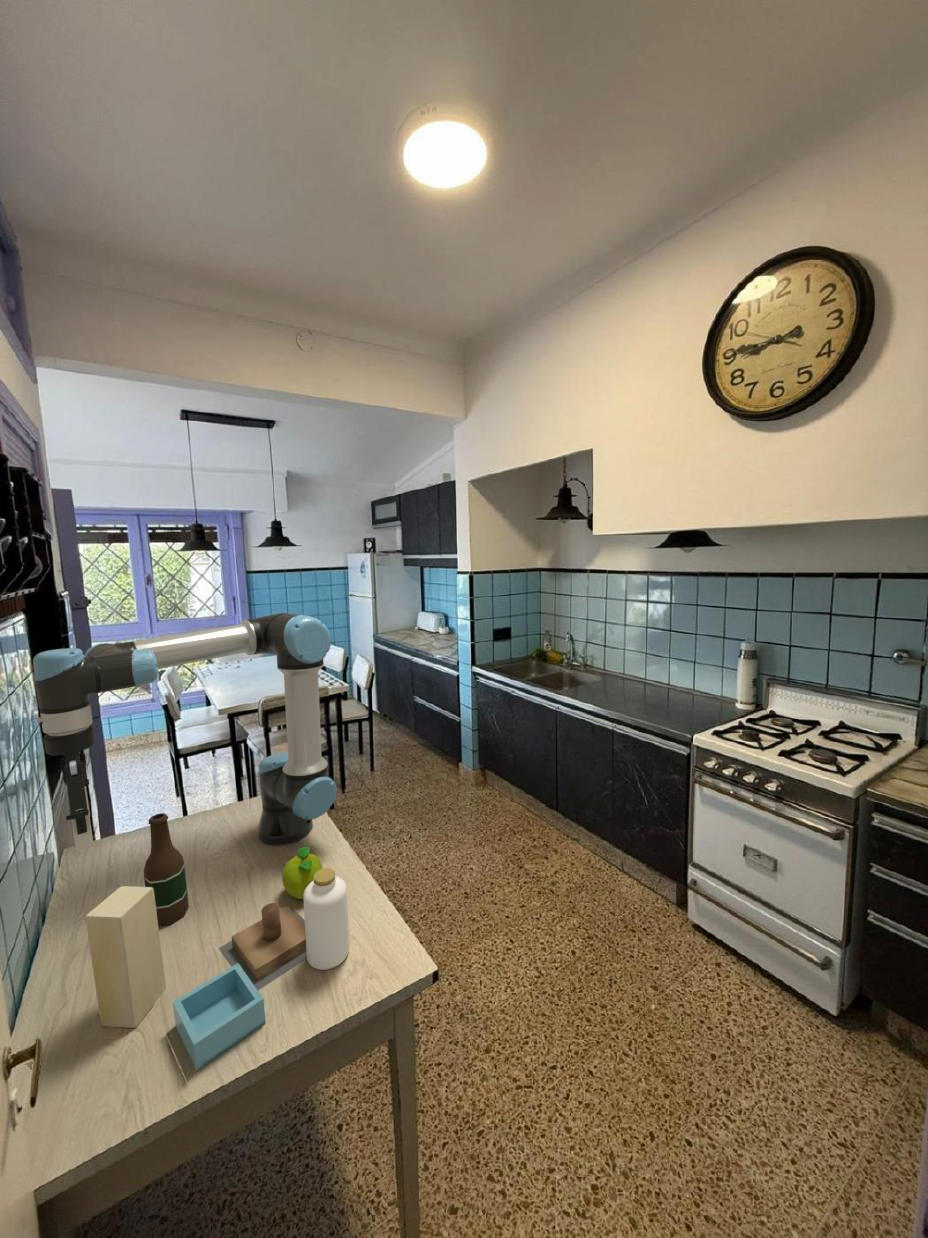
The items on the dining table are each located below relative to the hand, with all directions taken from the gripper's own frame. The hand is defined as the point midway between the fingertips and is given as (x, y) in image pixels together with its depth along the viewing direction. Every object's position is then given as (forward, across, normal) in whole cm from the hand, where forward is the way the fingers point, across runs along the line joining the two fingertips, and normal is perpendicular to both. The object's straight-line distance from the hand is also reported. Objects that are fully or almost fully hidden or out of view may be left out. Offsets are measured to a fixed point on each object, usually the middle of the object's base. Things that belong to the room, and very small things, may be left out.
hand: (83, 832), depth 98 cm
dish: (+27, +33, +15) cm, 45 cm away
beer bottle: (+27, -3, +13) cm, 30 cm away
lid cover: (+27, +22, +28) cm, 44 cm away
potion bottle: (+27, +32, +36) cm, 55 cm away
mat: (+27, +22, +28) cm, 45 cm away
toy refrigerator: (+27, +19, +4) cm, 33 cm away
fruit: (+27, +10, +39) cm, 49 cm away
